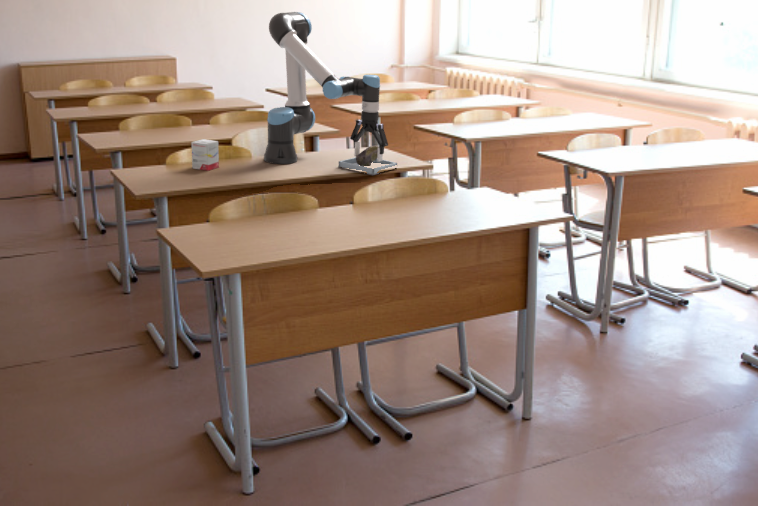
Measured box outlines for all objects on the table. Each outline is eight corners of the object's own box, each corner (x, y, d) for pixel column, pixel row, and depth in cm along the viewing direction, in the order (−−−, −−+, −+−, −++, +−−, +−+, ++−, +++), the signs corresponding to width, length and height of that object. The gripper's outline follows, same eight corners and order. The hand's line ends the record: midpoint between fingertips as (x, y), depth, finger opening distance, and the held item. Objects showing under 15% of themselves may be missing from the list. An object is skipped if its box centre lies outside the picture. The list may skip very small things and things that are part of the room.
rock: (377, 164, 382) (378, 142, 378) (380, 169, 373) (381, 147, 369) (354, 163, 380) (355, 142, 377) (356, 169, 371) (357, 147, 368)
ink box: (219, 167, 366) (219, 140, 362) (207, 171, 359) (207, 144, 355) (203, 164, 369) (202, 138, 365) (191, 168, 362) (190, 141, 358)
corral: (338, 167, 375) (338, 161, 375) (363, 161, 389) (363, 155, 388) (372, 175, 364) (372, 169, 363) (396, 168, 377) (397, 162, 377)
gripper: (343, 107, 372) (341, 154, 379) (387, 115, 358) (384, 164, 365) (354, 105, 378) (352, 152, 385) (397, 113, 364) (395, 162, 371)
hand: (368, 158), depth 375 cm, fingers open, 12 cm apart
